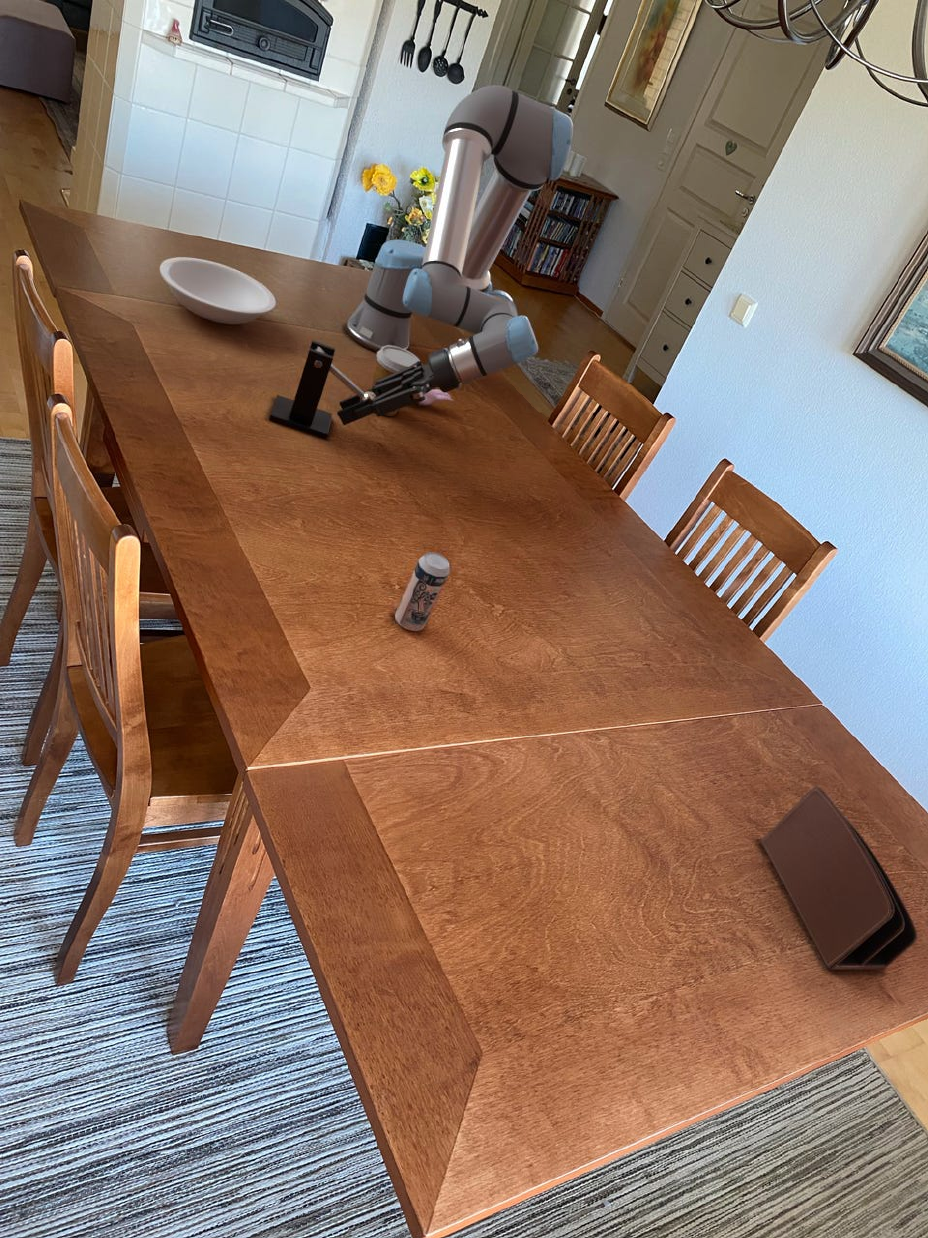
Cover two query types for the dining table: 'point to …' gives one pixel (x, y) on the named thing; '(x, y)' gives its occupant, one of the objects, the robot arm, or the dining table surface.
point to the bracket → (307, 396)
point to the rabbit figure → (435, 397)
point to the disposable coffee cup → (392, 363)
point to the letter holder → (838, 887)
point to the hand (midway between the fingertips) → (341, 413)
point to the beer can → (422, 591)
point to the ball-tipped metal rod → (349, 382)
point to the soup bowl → (216, 290)
